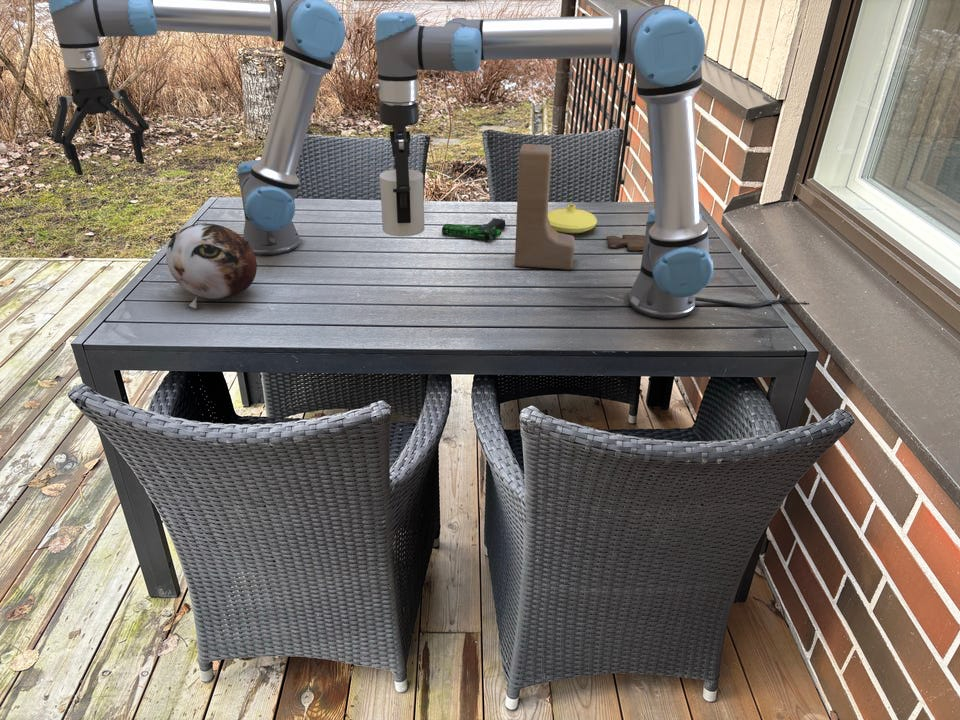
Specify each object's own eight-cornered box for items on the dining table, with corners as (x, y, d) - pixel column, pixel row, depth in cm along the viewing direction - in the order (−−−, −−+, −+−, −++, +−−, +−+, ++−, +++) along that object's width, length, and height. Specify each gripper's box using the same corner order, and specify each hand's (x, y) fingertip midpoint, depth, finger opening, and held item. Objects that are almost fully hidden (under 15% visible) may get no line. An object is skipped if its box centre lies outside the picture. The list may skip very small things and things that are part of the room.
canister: (415, 238, 146) (413, 183, 140) (376, 233, 148) (372, 179, 142) (430, 224, 153) (429, 171, 148) (392, 219, 155) (389, 167, 150)
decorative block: (572, 270, 184) (582, 153, 169) (514, 266, 186) (519, 150, 171) (572, 259, 191) (582, 146, 175) (516, 255, 192) (521, 143, 177)
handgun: (511, 219, 210) (493, 234, 198) (511, 228, 211) (492, 244, 199) (461, 212, 215) (440, 226, 203) (461, 221, 217) (440, 236, 204)
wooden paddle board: (703, 254, 196) (694, 240, 205) (704, 248, 195) (696, 235, 204) (609, 250, 196) (605, 237, 205) (610, 244, 196) (605, 232, 204)
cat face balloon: (130, 285, 161) (164, 203, 163) (192, 308, 177) (221, 233, 178) (195, 307, 151) (229, 220, 152) (254, 330, 166) (285, 250, 168)
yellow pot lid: (559, 216, 220) (561, 193, 217) (605, 227, 212) (608, 204, 209) (532, 230, 209) (533, 207, 206) (580, 242, 201) (582, 218, 198)
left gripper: (26, 76, 141) (57, 182, 152) (151, 64, 157) (171, 161, 168) (14, 72, 146) (45, 175, 157) (137, 60, 161) (157, 155, 172)
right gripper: (378, 91, 146) (384, 198, 158) (379, 114, 128) (386, 233, 140) (415, 91, 147) (418, 197, 159) (421, 113, 129) (424, 232, 140)
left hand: (110, 168), depth 162 cm, fingers open, 13 cm apart
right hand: (403, 214), depth 149 cm, fingers closed on canister, 9 cm apart
